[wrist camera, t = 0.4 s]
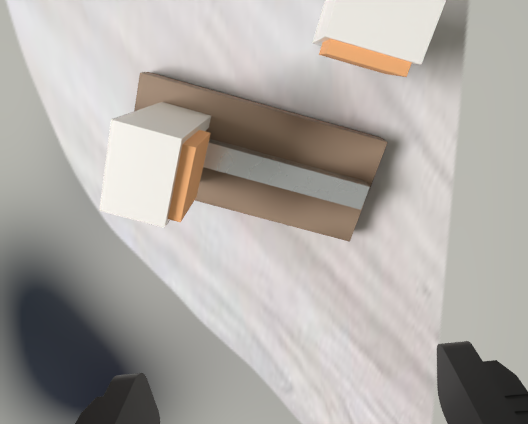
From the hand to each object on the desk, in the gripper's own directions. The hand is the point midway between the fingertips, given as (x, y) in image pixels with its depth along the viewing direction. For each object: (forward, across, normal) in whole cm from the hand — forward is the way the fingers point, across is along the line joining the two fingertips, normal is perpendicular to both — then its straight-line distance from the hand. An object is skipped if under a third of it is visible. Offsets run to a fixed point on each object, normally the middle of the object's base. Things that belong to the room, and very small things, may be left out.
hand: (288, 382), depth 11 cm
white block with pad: (+26, -7, -9) cm, 28 cm away
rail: (+26, +3, 0) cm, 26 cm away
